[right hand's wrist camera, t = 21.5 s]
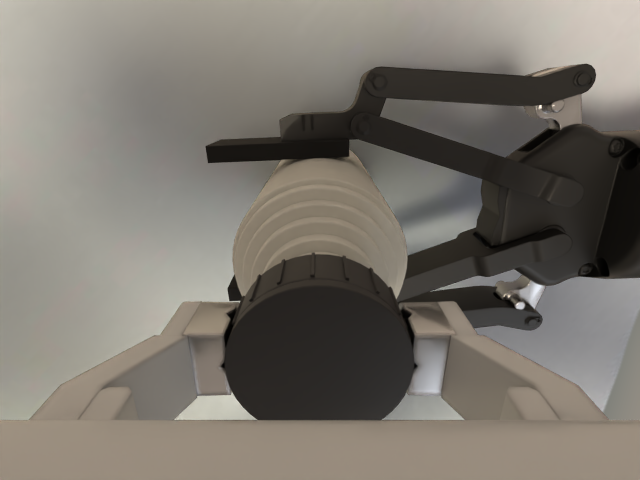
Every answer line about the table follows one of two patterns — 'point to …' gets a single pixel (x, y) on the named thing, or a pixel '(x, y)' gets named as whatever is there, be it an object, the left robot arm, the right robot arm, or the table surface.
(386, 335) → the cap
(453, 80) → the left robot arm
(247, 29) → the table surface
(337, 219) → the bottle
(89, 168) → the table surface
